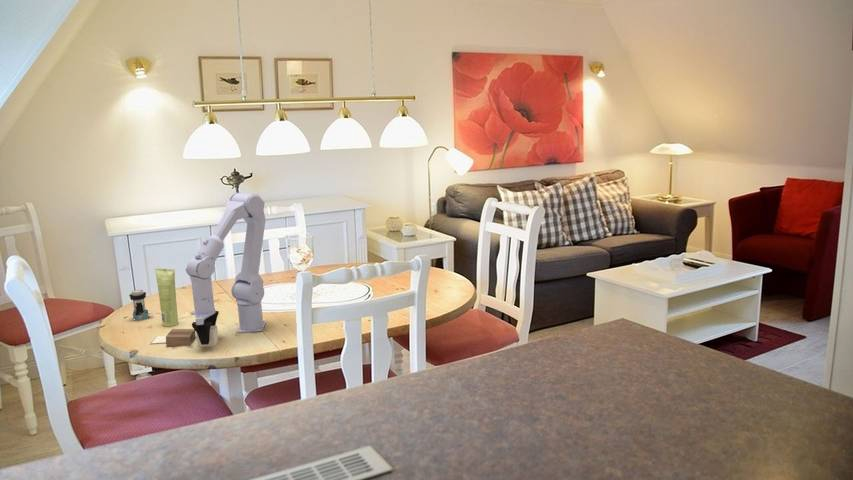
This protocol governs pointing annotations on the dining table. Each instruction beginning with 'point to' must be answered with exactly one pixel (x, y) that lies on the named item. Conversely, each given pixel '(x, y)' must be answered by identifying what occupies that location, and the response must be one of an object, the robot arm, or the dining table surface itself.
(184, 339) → the walnut block
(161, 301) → the tube
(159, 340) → the swatch
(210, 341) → the cream cube
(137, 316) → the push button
